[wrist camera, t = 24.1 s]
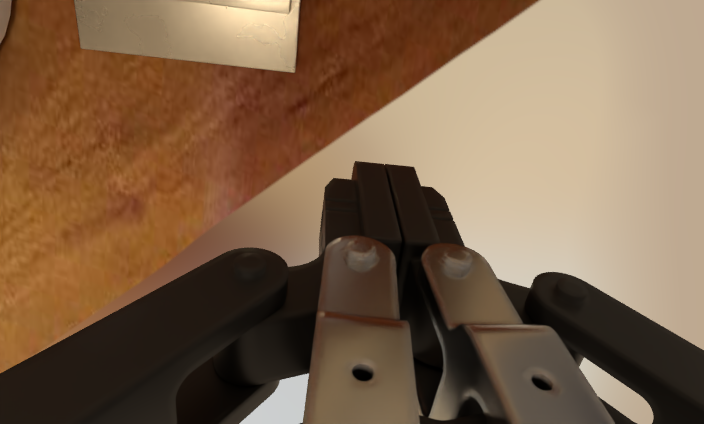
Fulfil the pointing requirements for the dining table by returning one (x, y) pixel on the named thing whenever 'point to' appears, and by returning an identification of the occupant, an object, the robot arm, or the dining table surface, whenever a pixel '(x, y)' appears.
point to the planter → (4, 16)
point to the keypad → (195, 30)
